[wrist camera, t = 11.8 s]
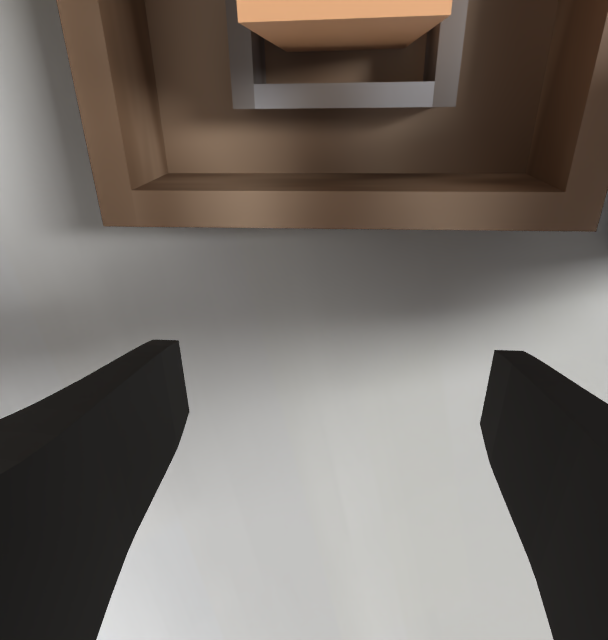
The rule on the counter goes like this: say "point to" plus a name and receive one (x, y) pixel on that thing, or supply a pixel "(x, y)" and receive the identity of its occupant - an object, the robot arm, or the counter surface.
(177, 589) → the counter surface
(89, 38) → the walled box
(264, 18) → the peach plain square-edged block
